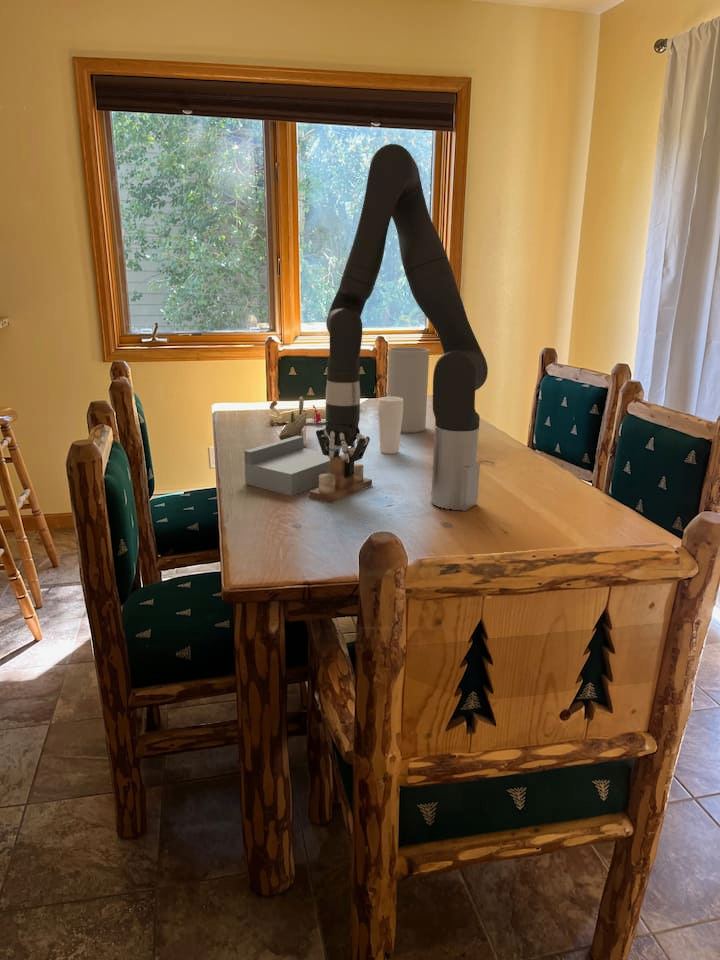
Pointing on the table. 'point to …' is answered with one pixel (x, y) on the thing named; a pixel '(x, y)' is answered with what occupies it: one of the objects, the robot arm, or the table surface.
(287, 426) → the wood carving
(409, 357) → the cylinder vase
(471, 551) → the table surface
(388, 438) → the drinking glass
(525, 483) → the table surface
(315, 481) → the grey stepped block
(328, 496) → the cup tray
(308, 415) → the cat figure
